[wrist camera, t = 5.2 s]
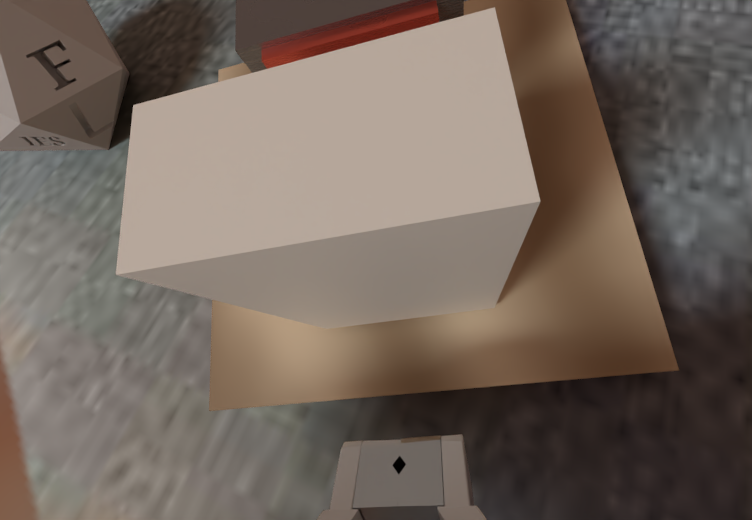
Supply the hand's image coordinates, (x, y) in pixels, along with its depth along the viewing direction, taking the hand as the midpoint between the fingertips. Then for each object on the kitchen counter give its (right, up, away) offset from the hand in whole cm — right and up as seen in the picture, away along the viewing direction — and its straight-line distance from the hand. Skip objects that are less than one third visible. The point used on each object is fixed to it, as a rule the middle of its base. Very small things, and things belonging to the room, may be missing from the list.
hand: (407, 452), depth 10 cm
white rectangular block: (0, +4, +4) cm, 6 cm away
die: (-17, +13, +13) cm, 26 cm away
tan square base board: (0, +8, +7) cm, 10 cm away
